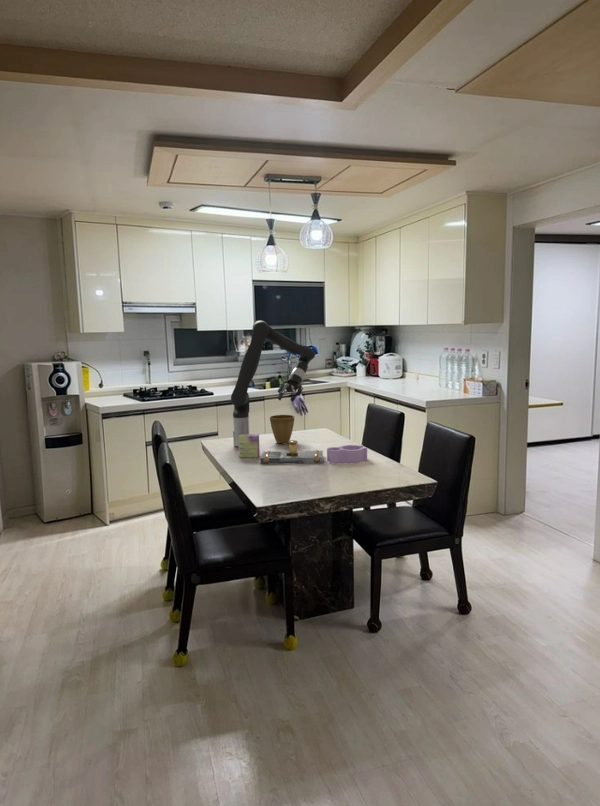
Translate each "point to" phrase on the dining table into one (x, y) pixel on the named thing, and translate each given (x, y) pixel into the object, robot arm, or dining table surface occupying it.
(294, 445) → the master link pin
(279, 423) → the plant pot
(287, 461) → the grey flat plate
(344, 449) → the purple cup holder
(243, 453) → the box
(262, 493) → the dining table surface
